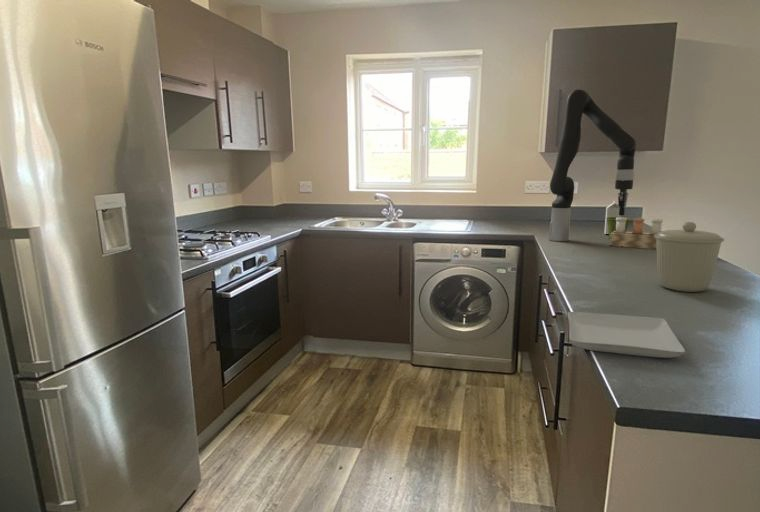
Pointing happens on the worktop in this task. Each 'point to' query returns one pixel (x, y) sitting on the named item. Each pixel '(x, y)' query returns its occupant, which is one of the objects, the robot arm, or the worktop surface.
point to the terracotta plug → (638, 226)
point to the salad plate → (623, 334)
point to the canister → (686, 258)
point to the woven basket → (633, 240)
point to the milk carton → (611, 214)
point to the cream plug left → (620, 225)
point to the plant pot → (612, 224)
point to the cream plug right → (656, 226)
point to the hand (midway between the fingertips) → (621, 215)
